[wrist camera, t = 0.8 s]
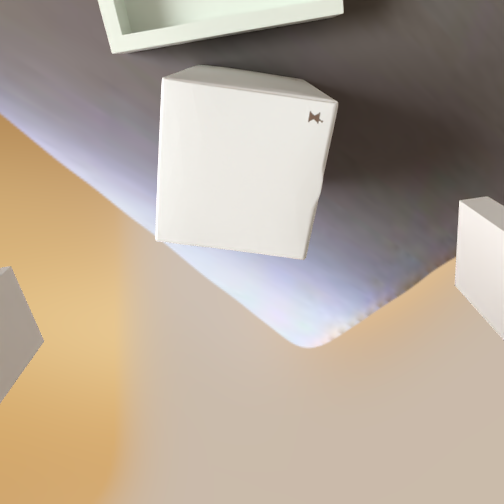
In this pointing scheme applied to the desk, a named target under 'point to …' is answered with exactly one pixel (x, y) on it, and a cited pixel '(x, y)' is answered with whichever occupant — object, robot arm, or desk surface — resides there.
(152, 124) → the desk surface
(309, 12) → the tote
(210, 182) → the supplement box
